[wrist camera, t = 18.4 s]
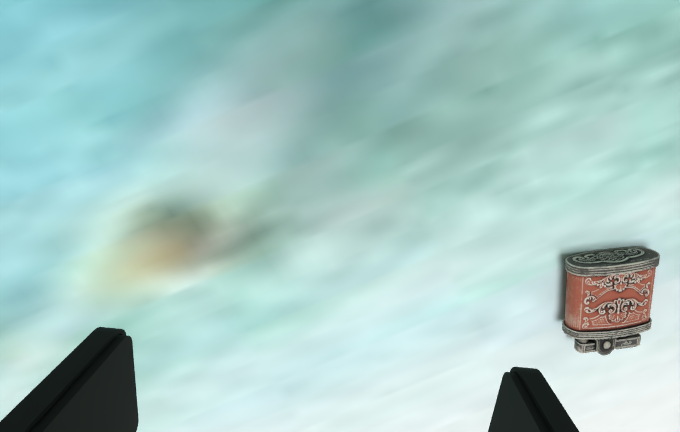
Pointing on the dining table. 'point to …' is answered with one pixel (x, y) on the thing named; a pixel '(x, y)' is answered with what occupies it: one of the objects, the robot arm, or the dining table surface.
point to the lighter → (609, 298)
